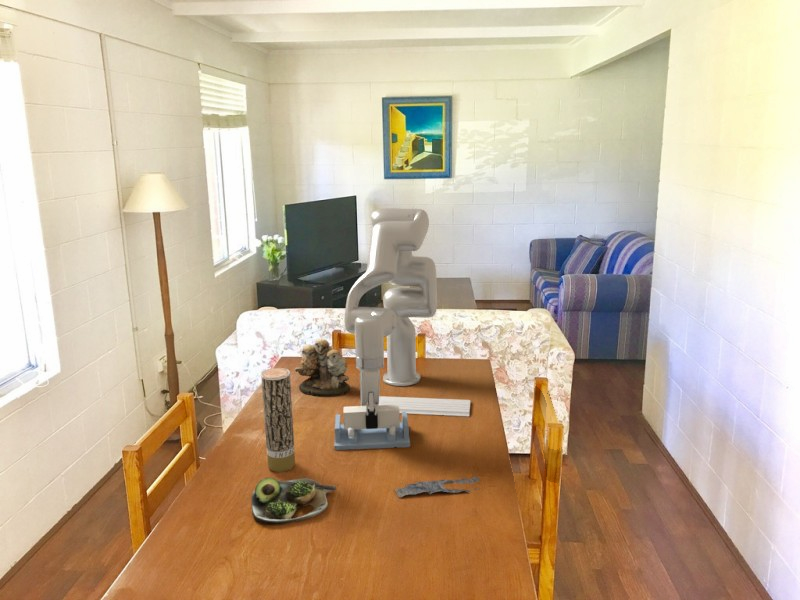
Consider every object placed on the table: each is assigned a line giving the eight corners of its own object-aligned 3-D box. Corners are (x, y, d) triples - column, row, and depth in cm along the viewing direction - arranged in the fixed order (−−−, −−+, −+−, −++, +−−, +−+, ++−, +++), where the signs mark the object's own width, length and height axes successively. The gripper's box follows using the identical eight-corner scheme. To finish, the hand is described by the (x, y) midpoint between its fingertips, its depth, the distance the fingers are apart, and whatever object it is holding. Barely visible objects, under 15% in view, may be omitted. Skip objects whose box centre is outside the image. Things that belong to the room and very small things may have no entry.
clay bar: (344, 429, 177) (343, 412, 176) (344, 423, 181) (343, 406, 180) (399, 427, 178) (399, 410, 177) (398, 421, 182) (398, 404, 180)
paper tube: (262, 467, 165) (255, 373, 159) (284, 457, 170) (278, 366, 164) (278, 476, 161) (272, 380, 154) (300, 465, 165) (295, 372, 159)
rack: (334, 450, 173) (333, 432, 172) (336, 428, 186) (335, 411, 184) (410, 446, 174) (410, 428, 173) (406, 425, 187) (406, 408, 186)
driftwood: (394, 501, 150) (394, 492, 150) (392, 485, 157) (392, 477, 156) (483, 496, 152) (484, 488, 152) (477, 481, 159) (477, 473, 158)
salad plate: (331, 477, 161) (330, 459, 159) (344, 517, 144) (343, 498, 143) (250, 489, 156) (248, 471, 155) (253, 532, 139) (252, 512, 138)
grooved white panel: (468, 421, 191) (470, 404, 202) (469, 411, 190) (470, 395, 202) (363, 416, 195) (370, 400, 206) (363, 407, 194) (370, 391, 206)
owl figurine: (291, 395, 210) (287, 344, 206) (302, 382, 221) (299, 333, 217) (346, 398, 207) (343, 346, 203) (354, 384, 218) (352, 335, 214)
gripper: (355, 351, 182) (357, 412, 187) (355, 373, 166) (358, 439, 171) (382, 350, 183) (384, 411, 188) (385, 372, 167) (386, 437, 171)
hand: (371, 423), depth 179 cm, fingers closed on clay bar, 4 cm apart
